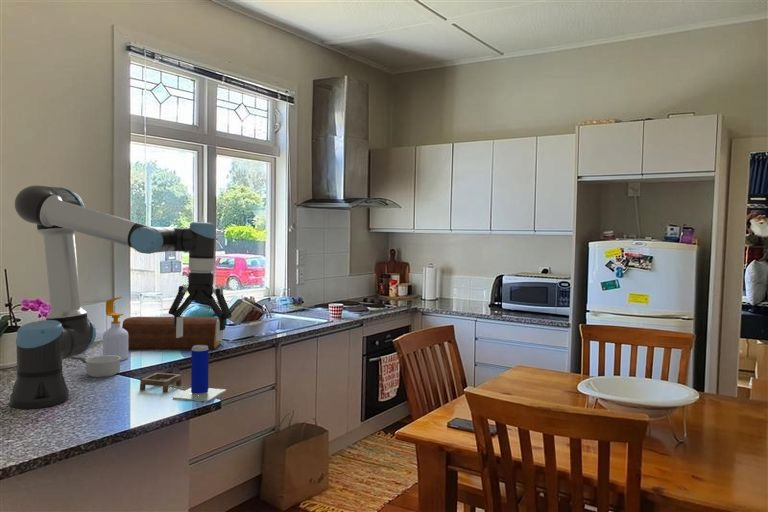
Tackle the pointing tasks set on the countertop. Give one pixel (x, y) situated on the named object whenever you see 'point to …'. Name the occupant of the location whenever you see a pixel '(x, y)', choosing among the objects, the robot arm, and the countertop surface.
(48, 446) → the countertop surface
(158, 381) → the brown square stand
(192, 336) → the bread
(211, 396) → the coaster
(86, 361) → the saucepan
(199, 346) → the beverage can
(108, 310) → the soap bottle
